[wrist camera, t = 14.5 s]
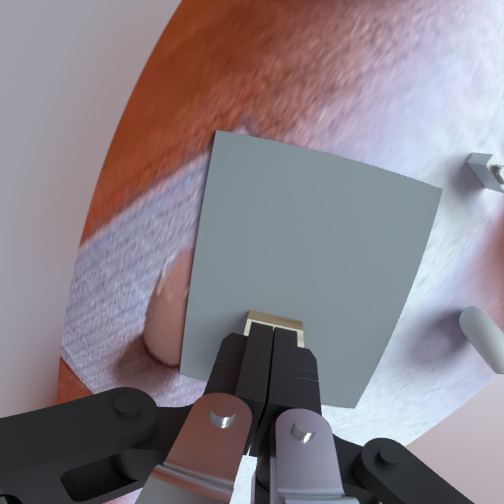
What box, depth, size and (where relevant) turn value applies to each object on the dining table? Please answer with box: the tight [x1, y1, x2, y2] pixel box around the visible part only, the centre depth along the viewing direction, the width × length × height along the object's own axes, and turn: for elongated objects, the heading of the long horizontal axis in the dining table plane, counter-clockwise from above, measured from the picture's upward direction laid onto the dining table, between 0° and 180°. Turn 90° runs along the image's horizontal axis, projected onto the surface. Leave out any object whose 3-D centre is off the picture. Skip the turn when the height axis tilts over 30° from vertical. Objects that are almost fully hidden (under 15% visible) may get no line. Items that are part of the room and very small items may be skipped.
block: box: [244, 310, 304, 348], centre depth 33 cm, size 6×6×6 cm
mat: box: [180, 130, 442, 408], centre depth 34 cm, size 30×24×1 cm
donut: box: [459, 306, 504, 374], centre depth 28 cm, size 10×4×10 cm, turn 49°
